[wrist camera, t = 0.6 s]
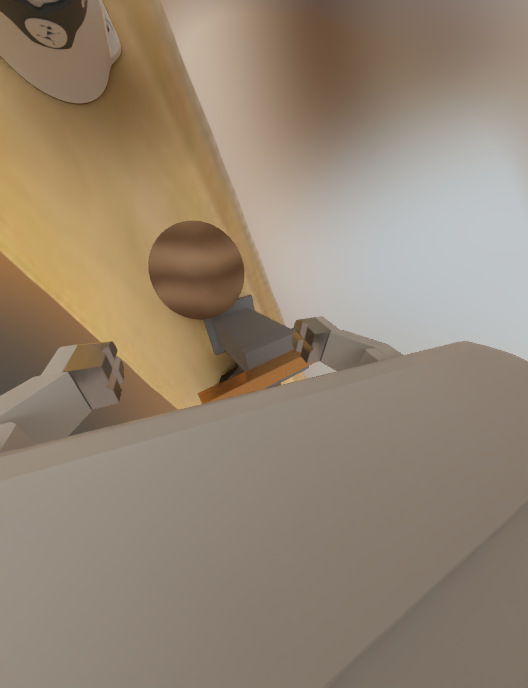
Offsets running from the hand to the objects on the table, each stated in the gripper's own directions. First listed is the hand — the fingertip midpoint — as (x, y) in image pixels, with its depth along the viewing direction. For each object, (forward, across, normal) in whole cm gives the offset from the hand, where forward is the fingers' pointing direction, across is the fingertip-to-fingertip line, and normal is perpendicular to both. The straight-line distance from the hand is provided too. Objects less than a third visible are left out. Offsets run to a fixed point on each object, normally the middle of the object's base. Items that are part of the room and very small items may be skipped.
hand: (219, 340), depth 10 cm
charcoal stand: (+44, -12, +25) cm, 52 cm away
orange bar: (+18, -12, +21) cm, 30 cm away
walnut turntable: (+30, -3, +6) cm, 30 cm away
